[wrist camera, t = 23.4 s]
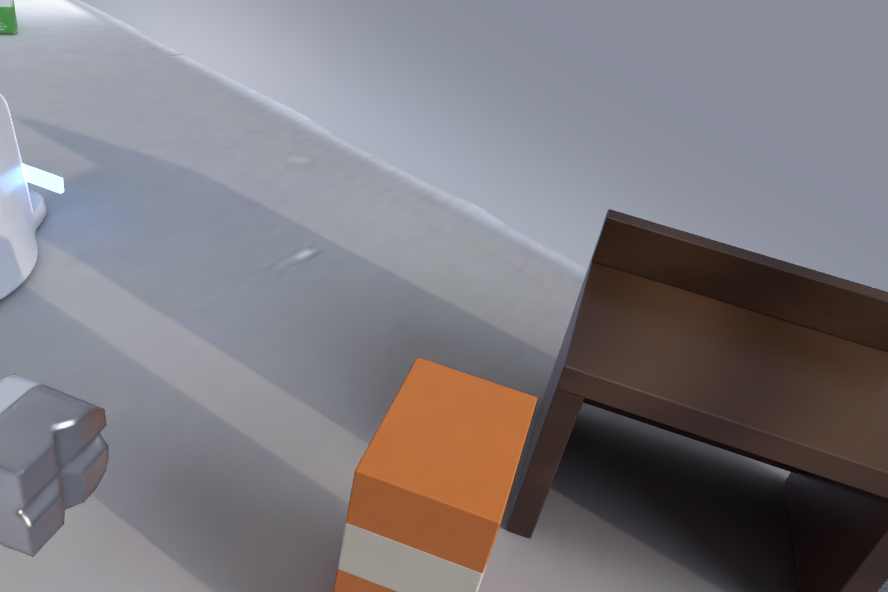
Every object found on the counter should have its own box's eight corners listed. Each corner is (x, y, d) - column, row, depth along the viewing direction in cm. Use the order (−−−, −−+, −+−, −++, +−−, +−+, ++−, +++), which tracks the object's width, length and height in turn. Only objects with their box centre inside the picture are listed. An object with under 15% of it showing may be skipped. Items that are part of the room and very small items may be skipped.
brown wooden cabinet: (505, 530, 36) (581, 315, 29) (542, 400, 44) (608, 208, 37) (831, 648, 34) (996, 447, 27) (806, 488, 42) (927, 303, 35)
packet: (318, 674, 29) (353, 470, 23) (375, 550, 34) (417, 355, 28) (432, 720, 28) (501, 523, 22) (474, 587, 33) (538, 396, 27)
